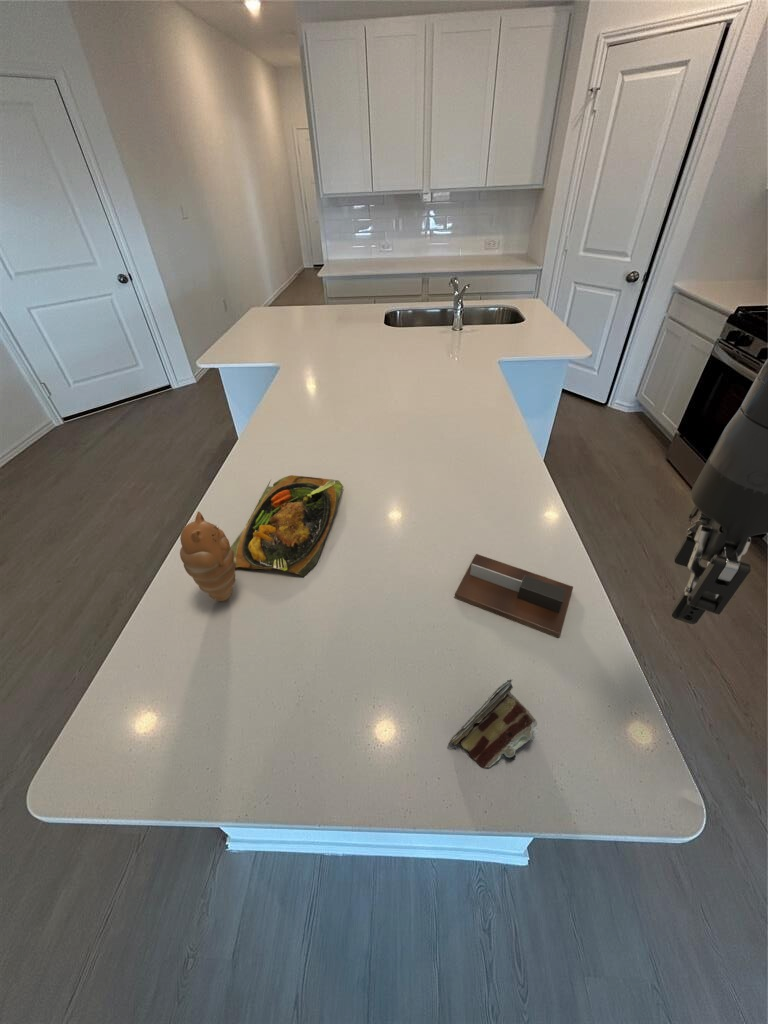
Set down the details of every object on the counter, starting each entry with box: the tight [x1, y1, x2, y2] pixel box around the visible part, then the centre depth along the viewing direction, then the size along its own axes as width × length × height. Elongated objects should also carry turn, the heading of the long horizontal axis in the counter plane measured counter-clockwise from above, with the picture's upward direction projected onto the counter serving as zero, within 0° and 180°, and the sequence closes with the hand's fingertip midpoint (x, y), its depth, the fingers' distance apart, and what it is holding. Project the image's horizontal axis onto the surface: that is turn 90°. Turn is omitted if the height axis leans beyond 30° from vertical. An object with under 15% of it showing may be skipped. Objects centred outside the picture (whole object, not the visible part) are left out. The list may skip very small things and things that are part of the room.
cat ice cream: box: [179, 511, 236, 602], centre depth 73 cm, size 9×8×18 cm
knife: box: [470, 564, 566, 613], centre depth 76 cm, size 16×3×3 cm, turn 62°
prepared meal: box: [230, 474, 344, 577], centre depth 93 cm, size 28×4×18 cm
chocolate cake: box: [447, 678, 538, 769], centre depth 59 cm, size 10×7×12 cm
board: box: [454, 553, 574, 639], centre depth 78 cm, size 18×11×1 cm, turn 62°
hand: (683, 589), depth 48 cm, fingers open, 8 cm apart
